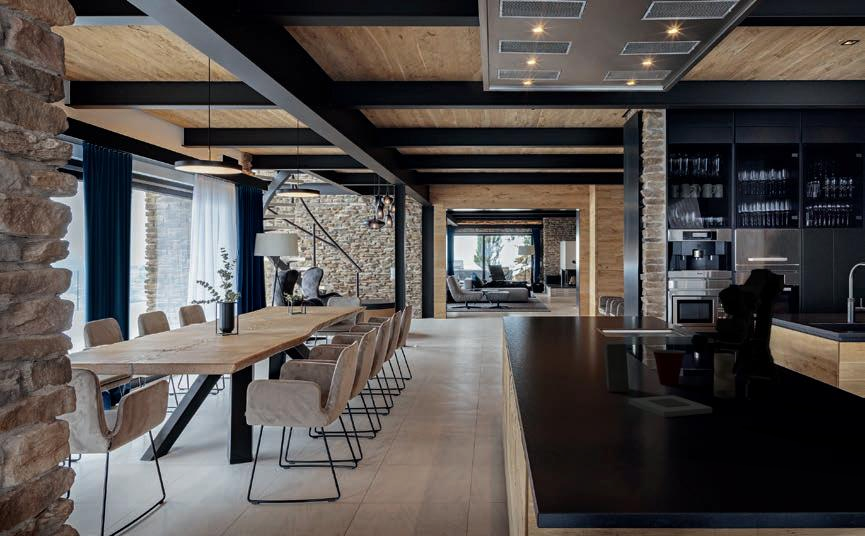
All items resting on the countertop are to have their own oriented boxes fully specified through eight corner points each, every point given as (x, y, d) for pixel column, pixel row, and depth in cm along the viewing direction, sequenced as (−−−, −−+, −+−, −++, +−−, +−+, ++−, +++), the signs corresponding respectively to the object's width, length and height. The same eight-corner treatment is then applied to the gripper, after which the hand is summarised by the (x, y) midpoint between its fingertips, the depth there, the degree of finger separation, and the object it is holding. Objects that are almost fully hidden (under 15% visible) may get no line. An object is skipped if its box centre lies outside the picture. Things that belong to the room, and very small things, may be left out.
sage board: (673, 400, 180) (673, 394, 179) (712, 413, 164) (712, 406, 164) (628, 403, 175) (628, 398, 175) (663, 417, 160) (663, 411, 160)
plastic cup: (685, 382, 206) (685, 348, 206) (686, 388, 196) (686, 352, 196) (652, 380, 210) (652, 346, 210) (651, 386, 200) (651, 351, 200)
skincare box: (629, 393, 189) (629, 344, 189) (606, 392, 191) (606, 343, 191) (626, 387, 198) (626, 340, 198) (604, 386, 199) (604, 340, 199)
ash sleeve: (733, 394, 157) (733, 353, 156) (736, 398, 152) (736, 356, 152) (712, 393, 158) (712, 352, 158) (715, 397, 153) (715, 355, 153)
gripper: (693, 305, 164) (678, 349, 156) (768, 308, 151) (755, 356, 143) (703, 330, 170) (689, 374, 162) (776, 336, 157) (764, 383, 149)
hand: (722, 371), depth 154 cm, fingers closed on ash sleeve, 5 cm apart
